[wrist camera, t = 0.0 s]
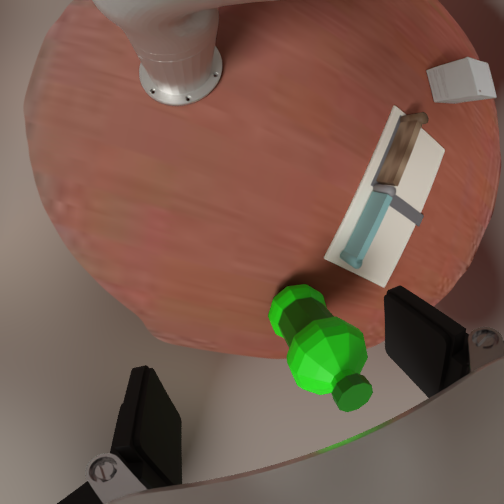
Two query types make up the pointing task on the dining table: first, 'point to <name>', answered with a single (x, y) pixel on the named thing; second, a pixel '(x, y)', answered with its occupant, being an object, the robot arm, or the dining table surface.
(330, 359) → the plastic bottle
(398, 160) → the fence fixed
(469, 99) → the supplement box
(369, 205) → the teal bar
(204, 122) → the dining table surface
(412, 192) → the card
